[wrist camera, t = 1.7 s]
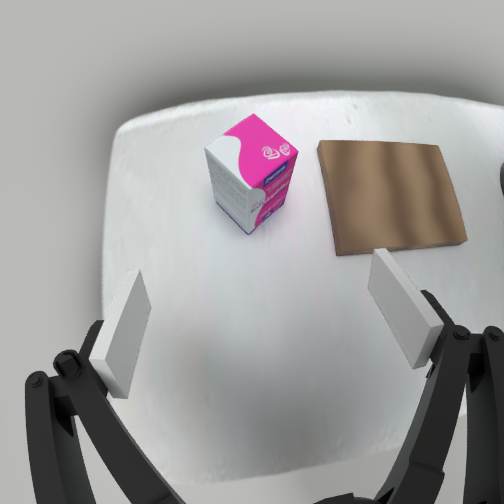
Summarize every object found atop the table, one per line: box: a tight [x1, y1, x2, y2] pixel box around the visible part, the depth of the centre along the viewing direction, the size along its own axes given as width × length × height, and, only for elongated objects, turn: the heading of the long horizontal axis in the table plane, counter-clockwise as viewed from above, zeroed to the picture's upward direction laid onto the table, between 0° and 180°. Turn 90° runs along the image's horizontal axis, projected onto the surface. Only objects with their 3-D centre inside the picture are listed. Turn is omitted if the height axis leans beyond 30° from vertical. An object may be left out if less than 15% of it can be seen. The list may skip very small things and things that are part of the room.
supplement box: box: [204, 114, 298, 235], centre depth 30 cm, size 6×6×12 cm
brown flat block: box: [317, 140, 468, 256], centre depth 35 cm, size 18×14×2 cm
